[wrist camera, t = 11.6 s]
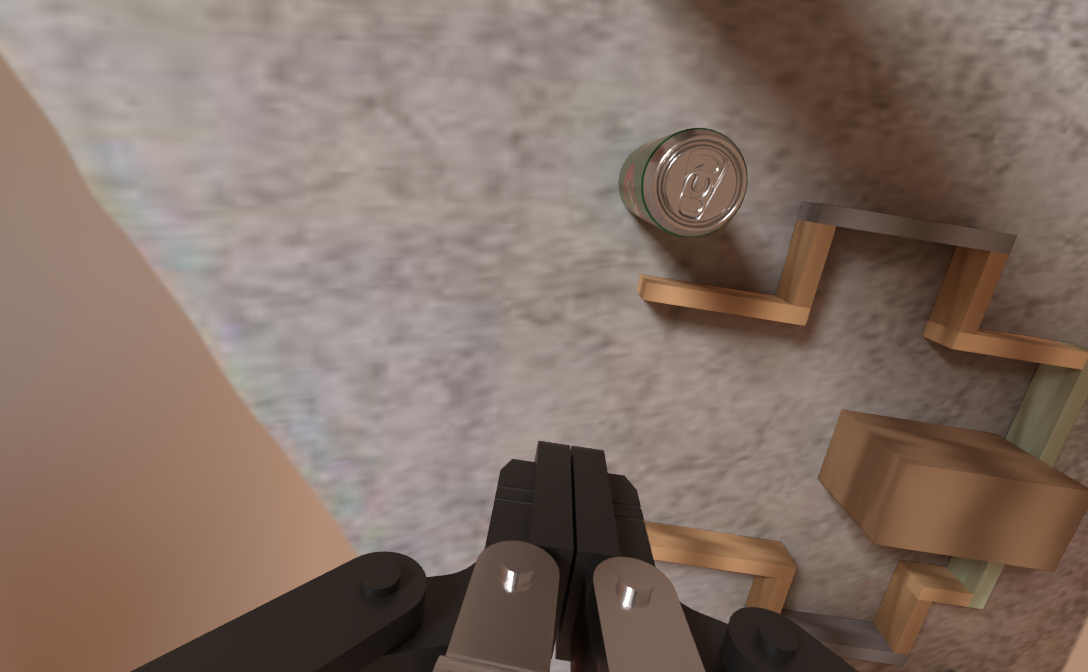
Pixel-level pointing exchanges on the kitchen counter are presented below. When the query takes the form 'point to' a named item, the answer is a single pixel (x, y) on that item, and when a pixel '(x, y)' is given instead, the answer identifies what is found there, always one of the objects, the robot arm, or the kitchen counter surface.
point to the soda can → (685, 182)
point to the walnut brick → (951, 491)
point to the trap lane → (951, 323)
